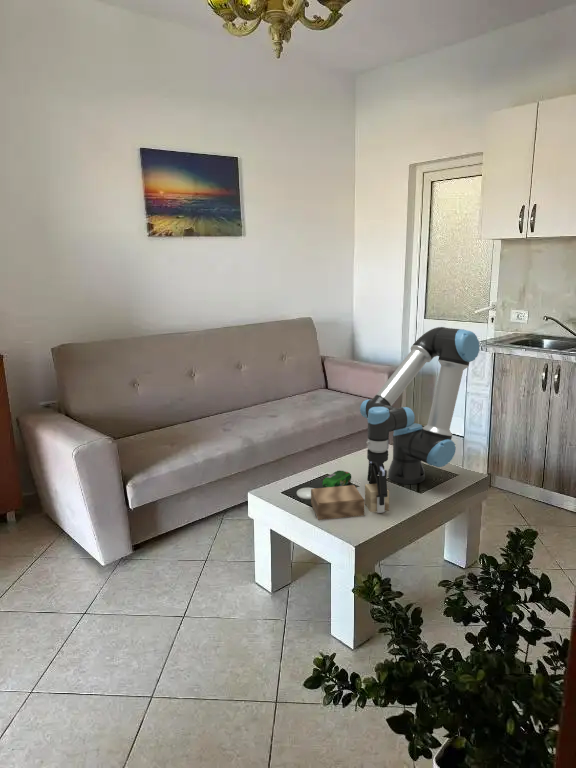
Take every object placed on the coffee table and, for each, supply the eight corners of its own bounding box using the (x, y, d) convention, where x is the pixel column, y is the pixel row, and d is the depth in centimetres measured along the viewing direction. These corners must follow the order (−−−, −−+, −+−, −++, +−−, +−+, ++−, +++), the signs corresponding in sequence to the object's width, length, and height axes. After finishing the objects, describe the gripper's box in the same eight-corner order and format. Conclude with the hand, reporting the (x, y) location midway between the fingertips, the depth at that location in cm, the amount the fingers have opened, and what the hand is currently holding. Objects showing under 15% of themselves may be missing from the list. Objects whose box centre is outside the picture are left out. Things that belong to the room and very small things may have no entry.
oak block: (382, 502, 202) (383, 482, 200) (388, 510, 195) (389, 490, 193) (364, 504, 201) (365, 484, 199) (370, 512, 194) (370, 492, 192)
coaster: (316, 488, 215) (316, 486, 215) (321, 498, 206) (321, 496, 206) (295, 490, 213) (294, 488, 213) (298, 500, 205) (298, 498, 205)
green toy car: (318, 491, 213) (318, 479, 211) (339, 478, 225) (339, 466, 223) (333, 495, 208) (333, 483, 207) (354, 482, 220) (354, 470, 219)
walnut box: (354, 499, 204) (354, 484, 203) (364, 515, 192) (364, 499, 190) (311, 503, 202) (310, 488, 200) (318, 519, 189) (318, 503, 188)
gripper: (359, 440, 202) (358, 495, 207) (377, 460, 182) (376, 520, 187) (378, 439, 203) (377, 493, 208) (398, 459, 183) (396, 518, 188)
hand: (376, 506), depth 198 cm, fingers open, 8 cm apart
